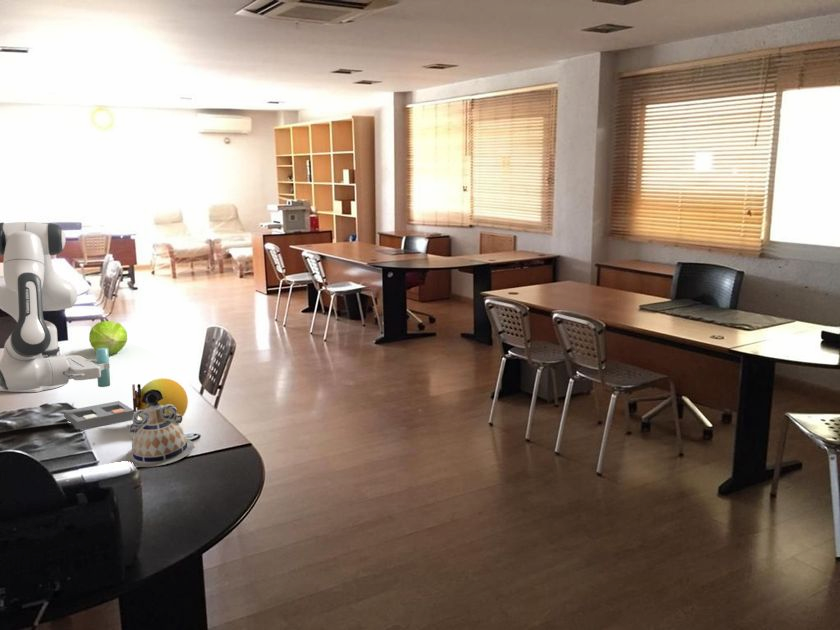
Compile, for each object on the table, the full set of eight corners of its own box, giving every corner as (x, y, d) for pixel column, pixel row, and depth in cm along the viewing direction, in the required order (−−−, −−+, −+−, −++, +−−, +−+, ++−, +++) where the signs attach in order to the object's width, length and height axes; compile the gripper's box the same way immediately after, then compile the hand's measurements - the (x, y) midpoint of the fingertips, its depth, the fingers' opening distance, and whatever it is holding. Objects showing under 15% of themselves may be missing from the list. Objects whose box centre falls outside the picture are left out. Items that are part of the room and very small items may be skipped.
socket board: (64, 420, 214) (63, 410, 213) (119, 409, 226) (118, 400, 225) (77, 431, 205) (77, 420, 204) (134, 419, 216) (134, 409, 216)
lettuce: (134, 353, 298) (96, 362, 290) (125, 343, 317) (89, 351, 309) (128, 322, 294) (89, 329, 286) (119, 313, 313) (82, 320, 305)
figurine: (125, 473, 177) (117, 400, 174) (125, 451, 193) (117, 385, 190) (197, 460, 184) (190, 390, 181) (191, 440, 200) (184, 376, 197)
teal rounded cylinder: (96, 387, 215) (94, 350, 213) (100, 384, 218) (98, 347, 216) (108, 386, 215) (106, 350, 213) (111, 383, 219) (109, 347, 217)
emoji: (134, 420, 215) (131, 375, 213) (186, 415, 221) (184, 371, 219) (134, 437, 201) (132, 388, 198) (190, 431, 207) (189, 383, 204)
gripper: (69, 367, 199) (117, 360, 208) (48, 354, 213) (94, 348, 223) (70, 387, 200) (118, 380, 209) (49, 373, 214) (95, 367, 224)
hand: (105, 363), depth 216 cm, fingers closed on teal rounded cylinder, 4 cm apart
